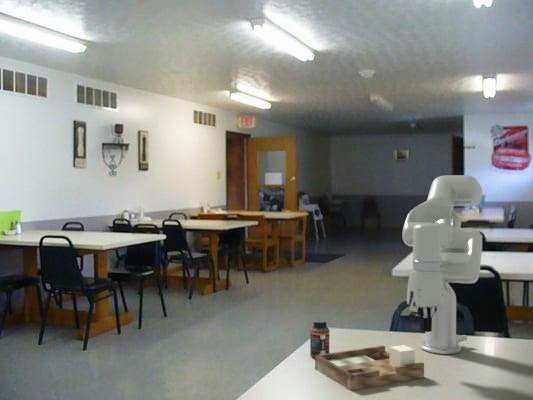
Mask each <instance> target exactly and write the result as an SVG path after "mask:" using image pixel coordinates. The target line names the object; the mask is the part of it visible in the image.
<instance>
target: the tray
mask: <svg viewBox="0 0 533 400" xmlns="http://www.w3.org/2000/svg"><path fill="white" fill-rule="evenodd" d="M314 369H315V370H316V371H318V372H319V373H321V374H323V375H324V376H326V377H328V378H329V379H331V380H333V381H334V382H336V383H337V384H339V385H341V386H342V387H344V388H346V389H347V390H349V391H350V392H351V391H356V390H361V389H368V388H373V387H377V386H384V385H389V384H390V385H391V384H395V383H399V382H400V383H401V382H406V381H407V382H408V381H411V380H418V379H423V378H425V363H424V362H422V361H421V362H415V363H414V364H408V365H402V366H395V367H394V366H392V365H390V364H389V352H388V351H386V346H385V345H379V346H378V345H377V346H371V347H370V346H369V347H363V348H357V349H356V348H355V349H350V350H349V349H347V350H342V351H337V352H336V351H335V352H329V353H328V354H321V355H315V358H314Z"/></svg>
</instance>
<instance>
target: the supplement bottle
mask: <svg viewBox="0 0 533 400" xmlns="http://www.w3.org/2000/svg"><path fill="white" fill-rule="evenodd" d="M312 324H313V326H312V327H311V328H310V333H309V335H310V337H309V339H310V346H309V347H310V351H309V353H310V354H309V355H310V357H311V358H313V359H315V355H321V354H328V353H330V328H329V327H328V326H327V320H325V319H315V320H313V323H312Z"/></svg>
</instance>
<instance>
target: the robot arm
mask: <svg viewBox="0 0 533 400" xmlns="http://www.w3.org/2000/svg"><path fill="white" fill-rule="evenodd" d="M427 195H428V196H427V199H426V201H424V202H422V203H420V204H418V205H417V206H415V207H414V208H413V209H411V210H410V211H409V213H407V216H406V219H405V222H404V224H403V228H402V235H401V236H402V241H403V242H404V244H405V245H406V246H408V247H412V270H411V271H410V272H409V276H408V280H407V281H408V283H407V290H406V291H407V292H406V303H407V305H408V306H409V311H411V312H414V313H416V314H417V316H418V317H419V330H420V331H422V332H424V333H425V335H424V336H425V340H424V341H422V342H420V348H421V350H423V351H426V352H428V353H431V354H432V353H433V354H439V355H451V354H453V355H454V354H458V353H460V352H461V350H462V347H461V345H460V344H459V343H460V342H466V341H467V340H468V336H467V335H466V334H462V335H459V334H457V296H456V293H455V291H454V289H453V288H452V286H451V285H450V284H449V283H453V284H454V283H457V284H458V283H459V284H475V283H476V282H477V281H478V280H479V277H480V274H481V273H480V272H481V264H482V253H483V237H482V234H481V232H480V231H479V230H477V229H475V228H471V227H470V228H467V227H466V228H465V227H461V226H462V220H461V218H460V216H459V215H458V214H457V213H456V212H455V211H454V207H477V206H478V205H480V203H481V202H482V199H483V189H482V186H481V183H480V182H479V181H478V179H476V178H475V177H474V176H472V175H468V174H466V175H465V174H462V175H461V174H460V175H459V174H458V175H457V174H455V175H454V174H452V175H451V174H450V175H449V174H448V175H440V176H437V177H436V178H434V180H433V181H432V183H431V185H430V188H429V192H428V194H427Z"/></svg>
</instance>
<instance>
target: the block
mask: <svg viewBox="0 0 533 400" xmlns="http://www.w3.org/2000/svg"><path fill="white" fill-rule="evenodd" d="M388 353H389V364H390V365H392V366H394V367H395V366H402V365H408V364H414V363H416V349H415V348H412V347H411V346H407V345H405V344H401V345H394V346H389V352H388Z"/></svg>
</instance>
